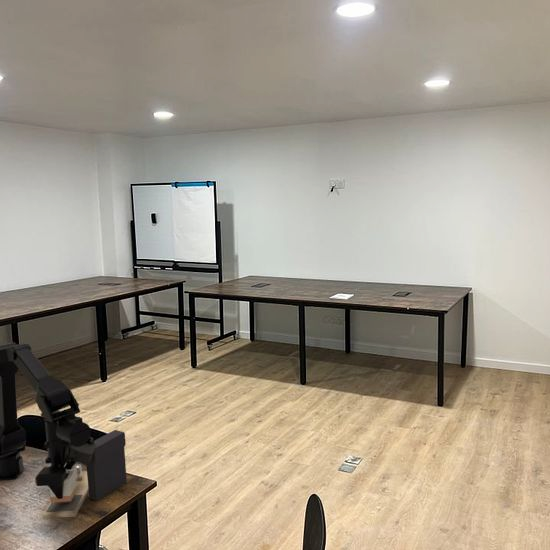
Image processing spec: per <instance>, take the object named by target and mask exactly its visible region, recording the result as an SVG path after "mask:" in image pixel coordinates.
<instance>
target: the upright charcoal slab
mask: <svg viewBox="0 0 550 550" xmlns="http://www.w3.org/2000/svg"><path fill="white" fill-rule="evenodd" d="M94 444H96V445H95V447H96V448H95V451H94V454H93V458H92V459H91V461H90V463H89V464H88V465H85V467H86V471H87V478H88V490H89V492H88V498H89V499H91V500H93V501H100V500H101V499H103V498H105V497H106V496H107V495H109V494H110V493H112V492H113V491H115V490H116V489H118V488H119V487H122V486H123V485H125V484H126V483H127V480H128V479H127V467H126V455H125V454H126V452H125V447H126V444H127V443H126V432H125V431H121V430H117V429H114V430H112V431H110V432H109V433H107V434H105V435H103V436H101V437H99V438H97V439H94Z"/></svg>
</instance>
